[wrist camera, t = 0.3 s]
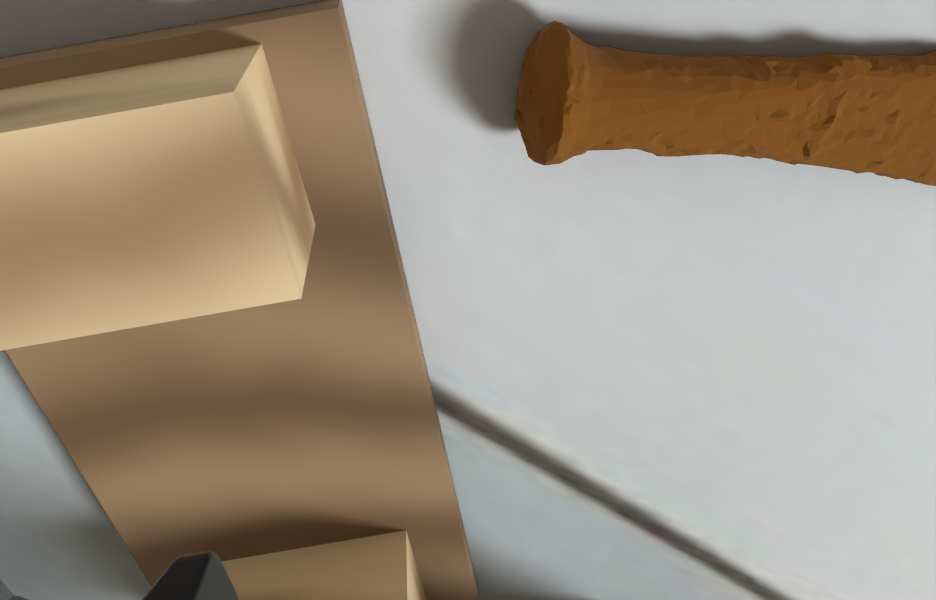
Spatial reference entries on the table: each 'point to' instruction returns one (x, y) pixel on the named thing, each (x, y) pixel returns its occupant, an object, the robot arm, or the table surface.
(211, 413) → the rack
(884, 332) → the table surface
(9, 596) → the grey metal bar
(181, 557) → the robot arm
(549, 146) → the primitive tool
